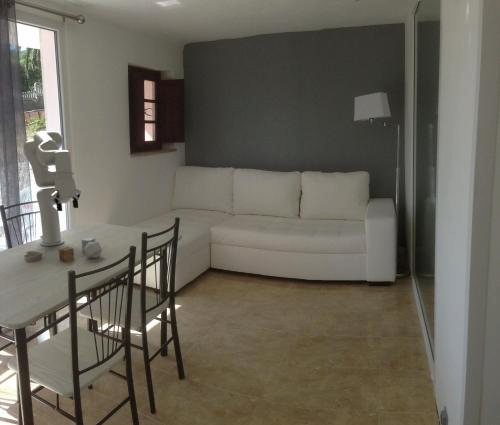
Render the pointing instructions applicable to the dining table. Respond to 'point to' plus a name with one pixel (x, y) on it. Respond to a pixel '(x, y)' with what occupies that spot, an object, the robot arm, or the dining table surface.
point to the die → (92, 250)
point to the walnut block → (66, 254)
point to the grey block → (86, 240)
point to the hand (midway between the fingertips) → (68, 209)
